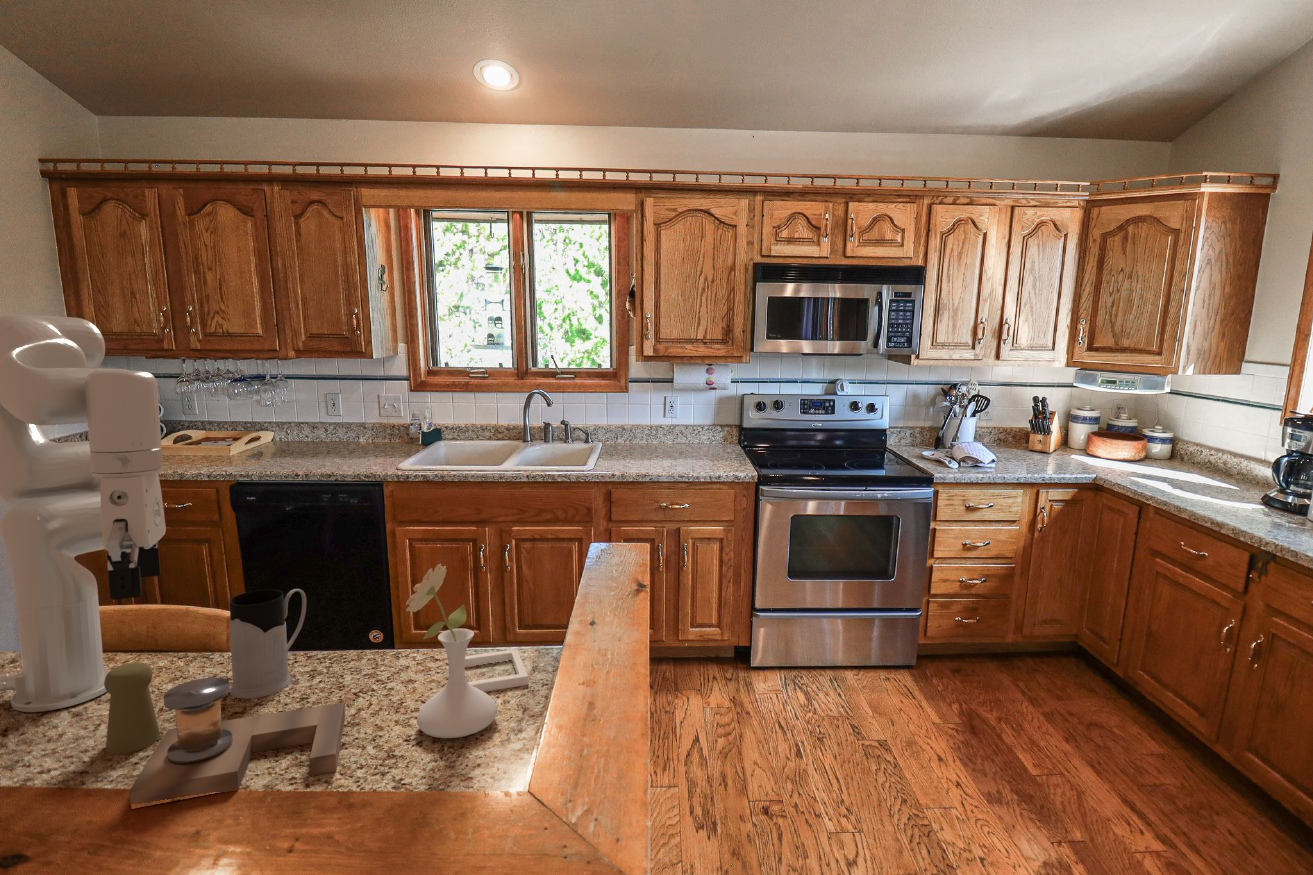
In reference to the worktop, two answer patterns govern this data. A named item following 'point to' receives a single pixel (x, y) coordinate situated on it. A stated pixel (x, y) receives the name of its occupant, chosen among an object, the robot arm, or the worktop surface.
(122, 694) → the cork
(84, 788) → the worktop surface
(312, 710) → the notched board
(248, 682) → the glass holder
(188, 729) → the bobbin
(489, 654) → the rectangular frame
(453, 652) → the flower in vase
